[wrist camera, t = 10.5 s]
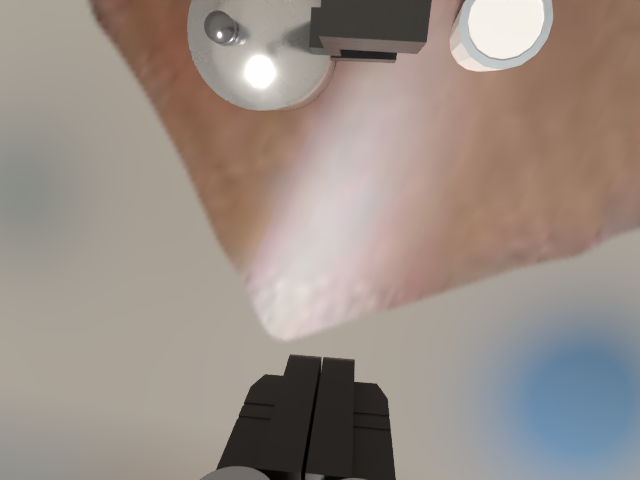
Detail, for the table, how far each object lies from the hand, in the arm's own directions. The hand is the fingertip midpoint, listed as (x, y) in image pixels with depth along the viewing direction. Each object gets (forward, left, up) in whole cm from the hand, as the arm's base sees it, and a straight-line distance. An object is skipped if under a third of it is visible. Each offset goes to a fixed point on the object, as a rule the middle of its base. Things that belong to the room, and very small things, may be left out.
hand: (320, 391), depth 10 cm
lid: (+4, -12, -26) cm, 29 cm away
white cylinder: (-11, -14, -35) cm, 39 cm away
